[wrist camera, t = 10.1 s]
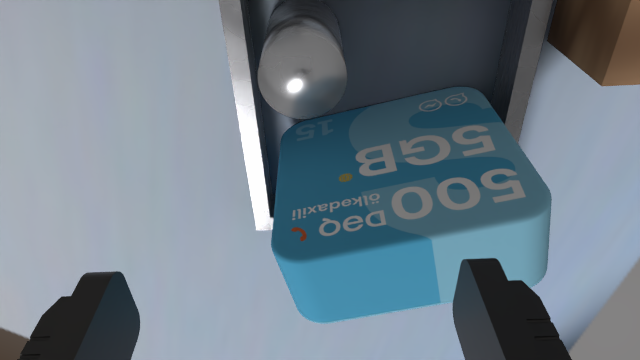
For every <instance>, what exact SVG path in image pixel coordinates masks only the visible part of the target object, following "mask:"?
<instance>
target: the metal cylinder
mask: <svg viewBox="0 0 640 360" xmlns="http://www.w3.org/2000/svg"><path fill="white" fill-rule="evenodd" d="M346 84H347V70H346V64H345V58H344V53H343V47H342V41H341V35H340V29H339V24H338V21H337V18H336V16H335V15H334V13H333V12H332V10H331V9H330V8H329V7H328V6H327V5H325V4H324V3H323V2H321V1H319V0H287V1H285V2H283V3H282V4H281V5H279V6H278V7H277V8H276V9H275V11H274V12H273V14H272V15H271V17H270V20H269V23H268V27H267V32H266V36H265V41H264V45H263V50H262V55H261V59H260V64H259V68H258V85H259V89H260V91H261V94H262V96H263V97H264V99H265V100H266V102H267V103H268V104H269V105H270V106H271V107H272V108H273V109H274V110H276V111H277V112H279V113H281V114H283V115H285V116H288V117H291V118H296V119H310V118H315V117H318V116H321V115H323V114H325V113H327V112H328V111H330V110H331V109H332V108H334V107H335V106H336V105H337V103H338V102H339V101H340V99H341V98H342V96H343V94H344V92H345V89H346Z"/></svg>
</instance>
